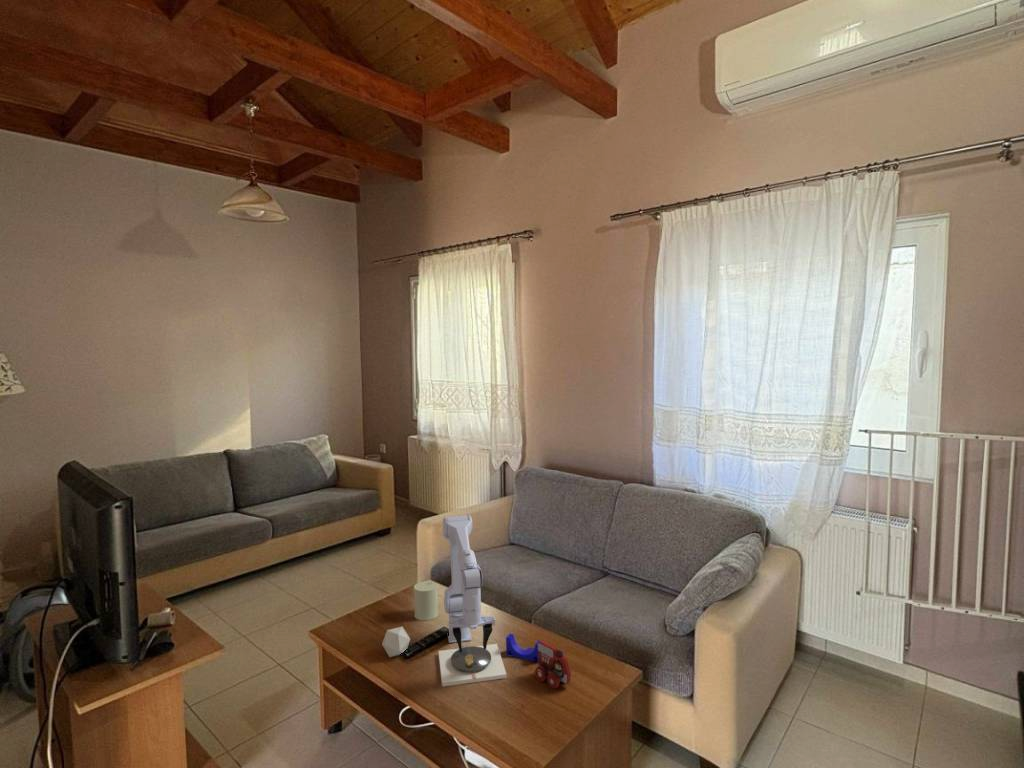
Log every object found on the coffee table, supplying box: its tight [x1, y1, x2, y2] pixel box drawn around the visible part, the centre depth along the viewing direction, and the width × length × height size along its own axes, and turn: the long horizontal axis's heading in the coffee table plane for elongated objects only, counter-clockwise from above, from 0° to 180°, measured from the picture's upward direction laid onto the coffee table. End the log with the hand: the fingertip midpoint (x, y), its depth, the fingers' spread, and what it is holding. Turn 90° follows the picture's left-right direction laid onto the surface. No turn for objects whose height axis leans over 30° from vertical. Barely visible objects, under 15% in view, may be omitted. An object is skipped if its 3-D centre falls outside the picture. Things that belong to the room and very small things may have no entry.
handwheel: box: [451, 645, 491, 672], centre depth 172 cm, size 13×13×4 cm
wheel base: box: [438, 643, 508, 688], centre depth 172 cm, size 18×20×2 cm
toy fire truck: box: [534, 640, 572, 690], centre depth 164 cm, size 7×12×10 cm, turn 44°
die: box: [381, 626, 411, 658], centre depth 180 cm, size 8×9×10 cm
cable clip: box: [505, 633, 542, 663], centre depth 178 cm, size 12×4×6 cm, turn 66°
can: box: [413, 580, 439, 621], centre depth 207 cm, size 9×9×12 cm
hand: (472, 649), depth 167 cm, fingers open, 7 cm apart
